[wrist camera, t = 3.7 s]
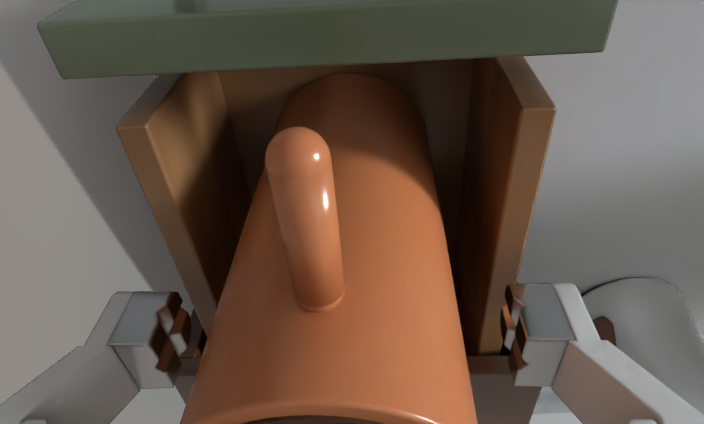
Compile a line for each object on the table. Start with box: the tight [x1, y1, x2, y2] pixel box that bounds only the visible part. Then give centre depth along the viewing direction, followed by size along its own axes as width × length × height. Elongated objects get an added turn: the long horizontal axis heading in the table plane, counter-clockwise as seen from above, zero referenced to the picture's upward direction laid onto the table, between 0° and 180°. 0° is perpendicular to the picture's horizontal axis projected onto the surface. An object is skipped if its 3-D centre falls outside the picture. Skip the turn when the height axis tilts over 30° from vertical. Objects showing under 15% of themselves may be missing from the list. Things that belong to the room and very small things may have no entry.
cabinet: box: [174, 281, 542, 424], centre depth 23 cm, size 14×12×8 cm
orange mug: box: [180, 73, 478, 424], centre depth 12 cm, size 9×6×12 cm, turn 4°
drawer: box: [37, 0, 618, 356], centre depth 14 cm, size 18×11×7 cm, turn 4°
